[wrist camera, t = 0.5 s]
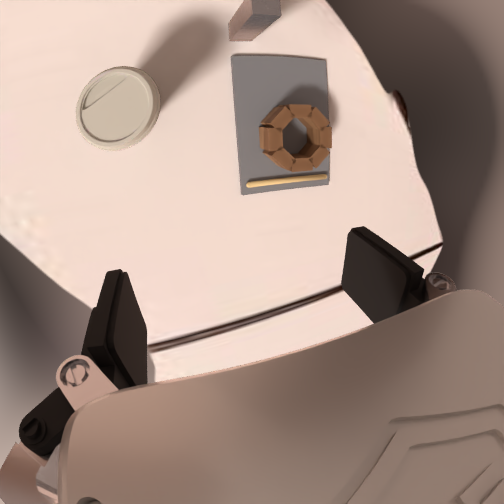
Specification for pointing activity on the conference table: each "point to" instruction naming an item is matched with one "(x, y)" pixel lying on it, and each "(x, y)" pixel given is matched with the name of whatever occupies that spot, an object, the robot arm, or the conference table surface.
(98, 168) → the conference table surface
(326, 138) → the brown wooden ring
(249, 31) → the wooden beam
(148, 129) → the coffee cup
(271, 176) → the mat
